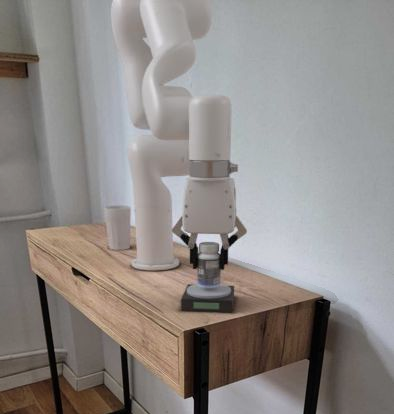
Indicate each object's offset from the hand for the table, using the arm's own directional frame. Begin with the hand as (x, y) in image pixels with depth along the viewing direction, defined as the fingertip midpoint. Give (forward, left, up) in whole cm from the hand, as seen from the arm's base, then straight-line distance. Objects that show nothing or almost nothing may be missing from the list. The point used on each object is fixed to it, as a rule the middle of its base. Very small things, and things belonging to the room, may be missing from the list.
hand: (208, 266), depth 96 cm
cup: (-50, -32, -8) cm, 60 cm away
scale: (0, 0, -8) cm, 8 cm away
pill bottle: (0, 0, -4) cm, 4 cm away
